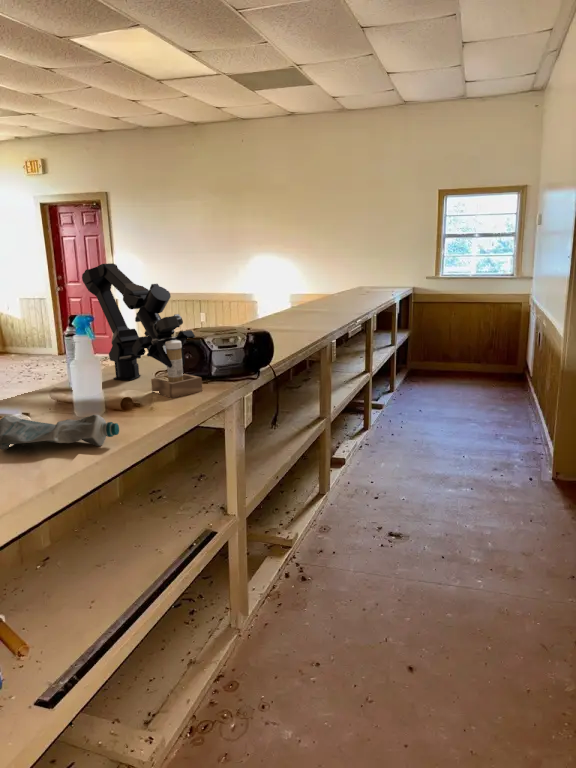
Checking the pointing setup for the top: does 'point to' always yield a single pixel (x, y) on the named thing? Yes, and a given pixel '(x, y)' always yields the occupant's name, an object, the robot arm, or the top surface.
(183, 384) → the cradle
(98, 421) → the crushed plastic bottle
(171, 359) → the sprinkles bottle
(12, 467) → the top surface
